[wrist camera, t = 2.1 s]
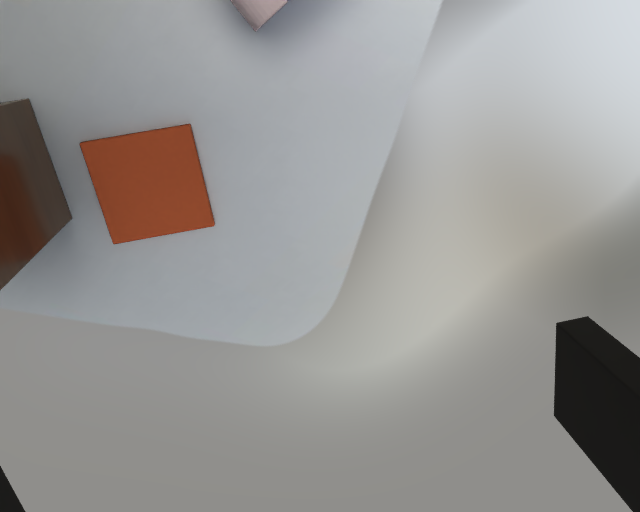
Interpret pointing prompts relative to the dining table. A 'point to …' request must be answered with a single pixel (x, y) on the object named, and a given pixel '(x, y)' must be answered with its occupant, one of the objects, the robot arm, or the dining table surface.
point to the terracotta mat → (149, 183)
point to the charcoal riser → (26, 190)
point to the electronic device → (258, 10)
